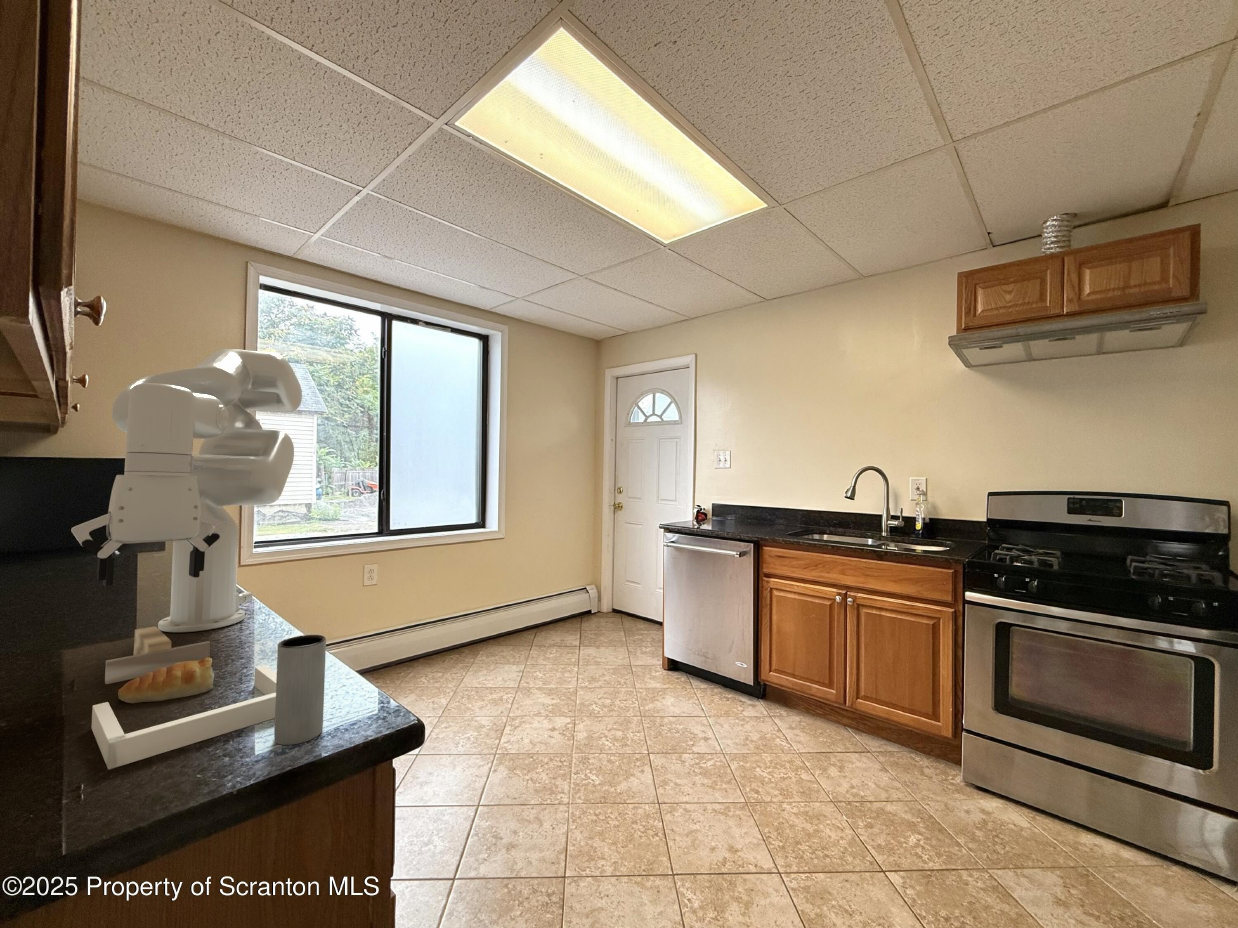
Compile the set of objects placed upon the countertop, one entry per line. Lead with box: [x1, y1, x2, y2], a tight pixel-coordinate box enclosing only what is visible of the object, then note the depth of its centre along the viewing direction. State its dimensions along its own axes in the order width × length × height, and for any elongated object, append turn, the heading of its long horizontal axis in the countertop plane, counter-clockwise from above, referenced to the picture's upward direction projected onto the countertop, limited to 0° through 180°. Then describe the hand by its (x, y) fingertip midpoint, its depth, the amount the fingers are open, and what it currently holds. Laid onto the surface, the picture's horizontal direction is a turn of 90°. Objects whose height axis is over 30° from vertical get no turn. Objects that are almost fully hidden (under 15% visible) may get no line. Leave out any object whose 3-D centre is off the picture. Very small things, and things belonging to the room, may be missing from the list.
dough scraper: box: [104, 625, 211, 685], centre depth 76 cm, size 12×11×4 cm
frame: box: [91, 664, 277, 770], centre depth 59 cm, size 12×16×2 cm
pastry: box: [117, 657, 215, 704], centre depth 66 cm, size 9×7×4 cm
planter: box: [273, 634, 327, 746], centre depth 56 cm, size 4×4×10 cm
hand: (152, 580), depth 76 cm, fingers open, 9 cm apart
